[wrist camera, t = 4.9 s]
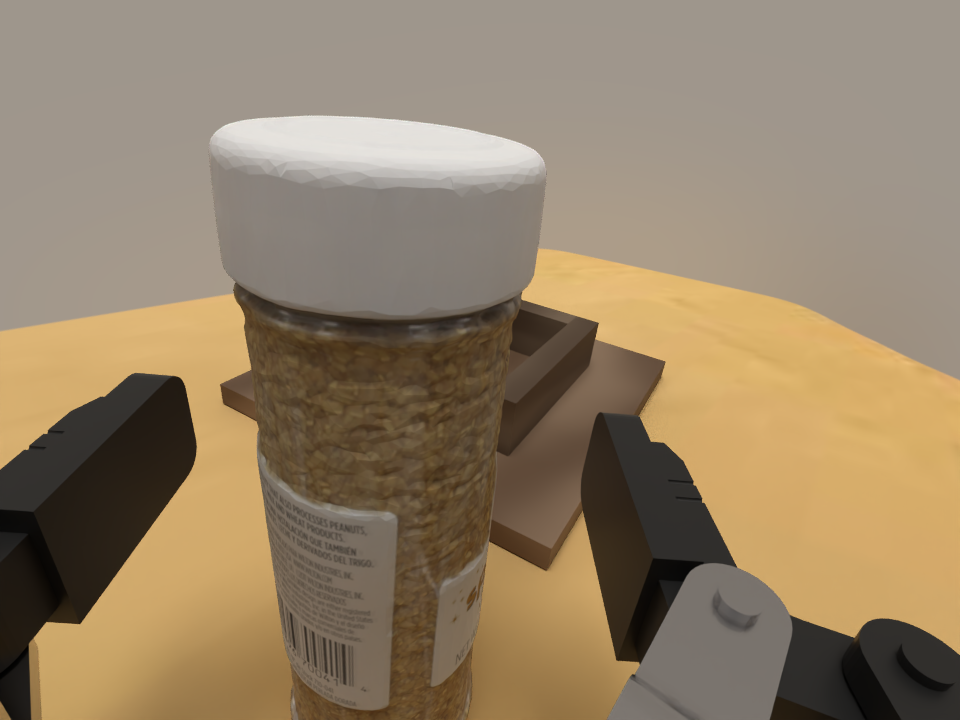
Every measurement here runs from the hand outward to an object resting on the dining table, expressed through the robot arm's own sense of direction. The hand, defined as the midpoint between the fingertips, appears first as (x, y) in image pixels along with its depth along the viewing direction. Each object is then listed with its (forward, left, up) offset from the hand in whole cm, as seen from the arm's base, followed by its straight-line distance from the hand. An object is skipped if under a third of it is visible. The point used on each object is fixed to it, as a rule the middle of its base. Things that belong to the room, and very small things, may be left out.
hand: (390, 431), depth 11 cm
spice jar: (0, -1, -8) cm, 8 cm away
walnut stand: (-6, +13, -8) cm, 17 cm away
